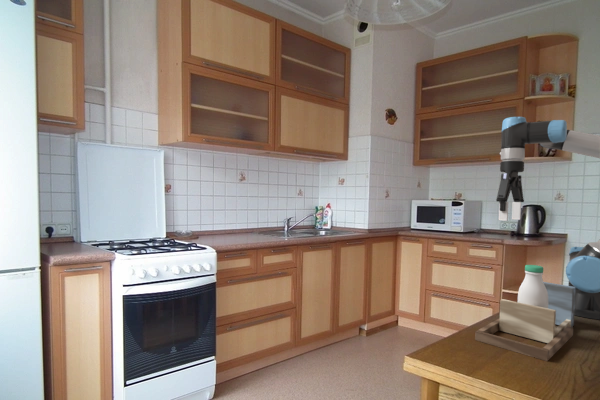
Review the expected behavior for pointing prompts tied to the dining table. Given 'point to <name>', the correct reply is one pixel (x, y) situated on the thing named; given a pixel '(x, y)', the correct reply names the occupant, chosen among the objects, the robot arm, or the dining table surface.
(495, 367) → the dining table surface
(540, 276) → the milk bottle
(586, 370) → the dining table surface
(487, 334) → the dark wooden tray
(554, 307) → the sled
